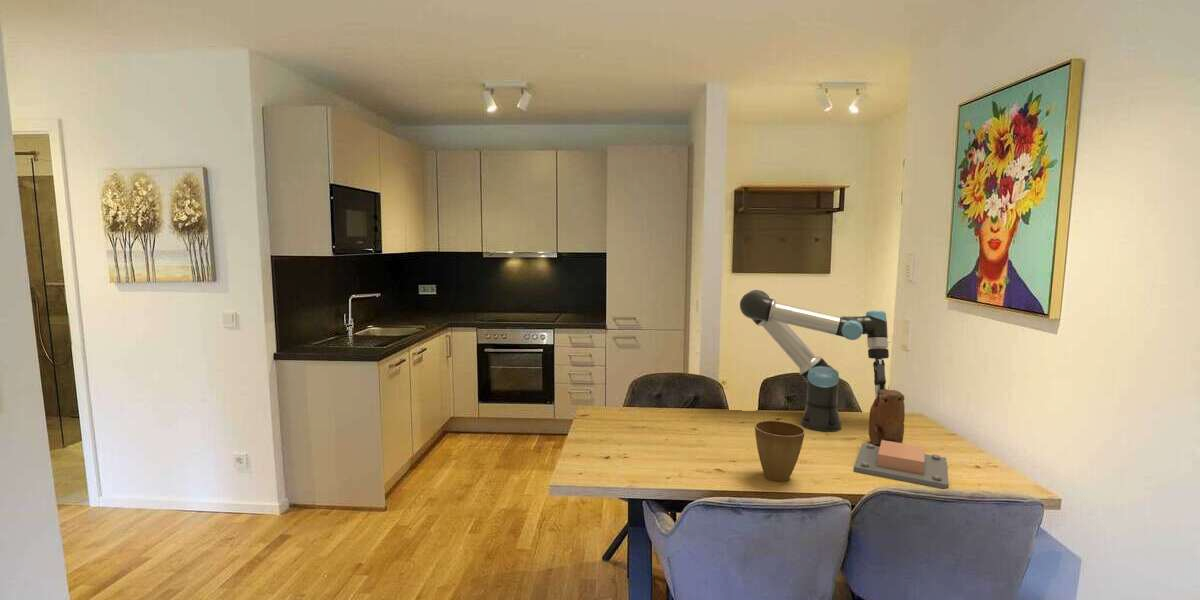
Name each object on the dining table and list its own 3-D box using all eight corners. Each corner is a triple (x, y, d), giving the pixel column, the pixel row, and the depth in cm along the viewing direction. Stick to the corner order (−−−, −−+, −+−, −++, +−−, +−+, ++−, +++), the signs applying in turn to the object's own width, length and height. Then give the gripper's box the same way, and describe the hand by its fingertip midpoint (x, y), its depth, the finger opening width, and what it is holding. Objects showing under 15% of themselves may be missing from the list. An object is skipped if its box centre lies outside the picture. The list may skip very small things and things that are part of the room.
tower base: (853, 471, 180) (854, 454, 180) (861, 447, 202) (862, 432, 202) (948, 489, 167) (949, 471, 167) (945, 461, 189) (946, 446, 189)
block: (894, 440, 210) (897, 388, 208) (905, 447, 203) (908, 394, 201) (865, 440, 211) (868, 388, 209) (874, 447, 203) (877, 393, 201)
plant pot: (750, 482, 170) (752, 431, 169) (755, 465, 184) (757, 418, 183) (802, 490, 165) (804, 438, 164) (803, 472, 179) (805, 423, 178)
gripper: (891, 346, 215) (894, 401, 211) (885, 350, 237) (888, 401, 234) (870, 346, 217) (873, 401, 214) (865, 350, 240) (868, 400, 237)
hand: (880, 401), depth 224 cm, fingers open, 13 cm apart
